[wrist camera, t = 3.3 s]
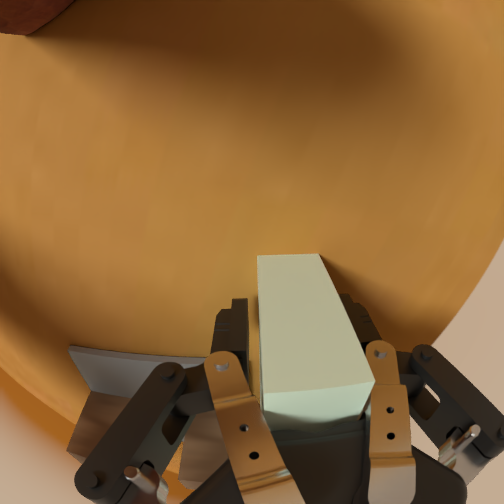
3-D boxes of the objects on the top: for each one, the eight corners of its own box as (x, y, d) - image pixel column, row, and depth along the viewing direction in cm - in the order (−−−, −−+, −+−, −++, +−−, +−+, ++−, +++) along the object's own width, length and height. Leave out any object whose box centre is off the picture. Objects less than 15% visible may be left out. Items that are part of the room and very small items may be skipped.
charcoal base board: (122, 427, 22) (121, 431, 21) (70, 344, 17) (67, 350, 16) (250, 439, 22) (250, 444, 21) (243, 357, 16) (243, 364, 16)
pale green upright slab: (260, 412, 20) (263, 501, 12) (257, 254, 14) (263, 393, 6) (297, 410, 20) (308, 497, 12) (318, 252, 14) (375, 381, 6)
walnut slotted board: (102, 406, 19) (81, 463, 13) (91, 390, 18) (66, 450, 12) (248, 421, 19) (247, 492, 13) (246, 406, 18) (246, 484, 12)
